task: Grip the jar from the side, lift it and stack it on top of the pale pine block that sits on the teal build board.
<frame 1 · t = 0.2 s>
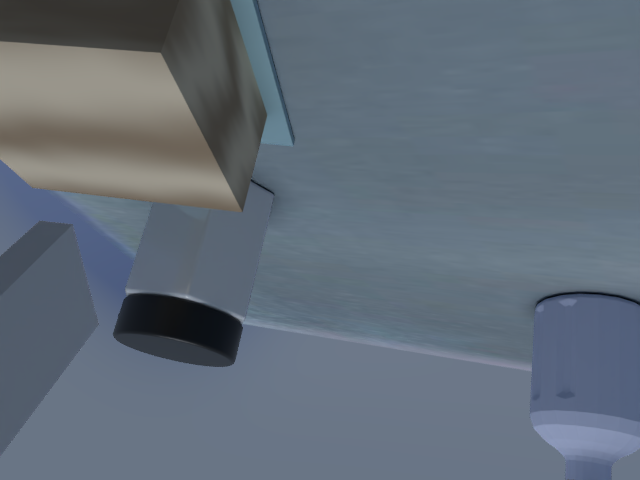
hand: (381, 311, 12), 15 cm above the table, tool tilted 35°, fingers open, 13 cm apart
build board: (142, 39, 30), on the table
soap bottle: (589, 307, 53), on the table
base block: (122, 30, 29), resting on build board
jar: (218, 189, 45), on the table
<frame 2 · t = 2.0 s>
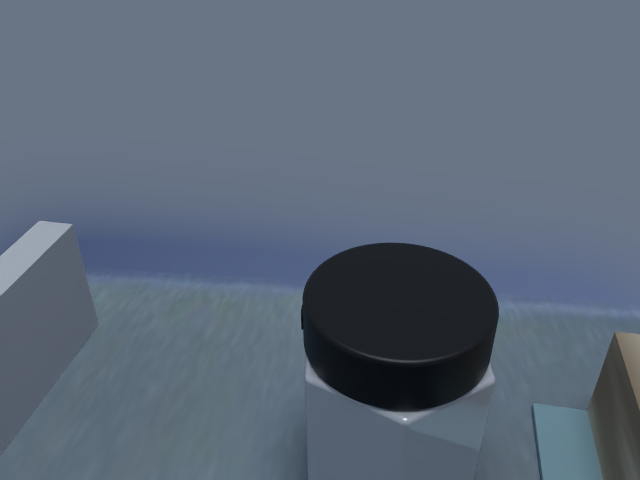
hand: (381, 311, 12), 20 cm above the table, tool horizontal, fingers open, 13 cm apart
jar: (384, 476, 32), on the table
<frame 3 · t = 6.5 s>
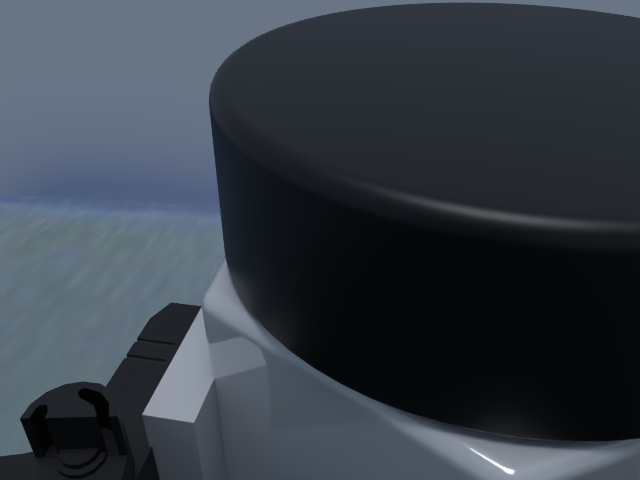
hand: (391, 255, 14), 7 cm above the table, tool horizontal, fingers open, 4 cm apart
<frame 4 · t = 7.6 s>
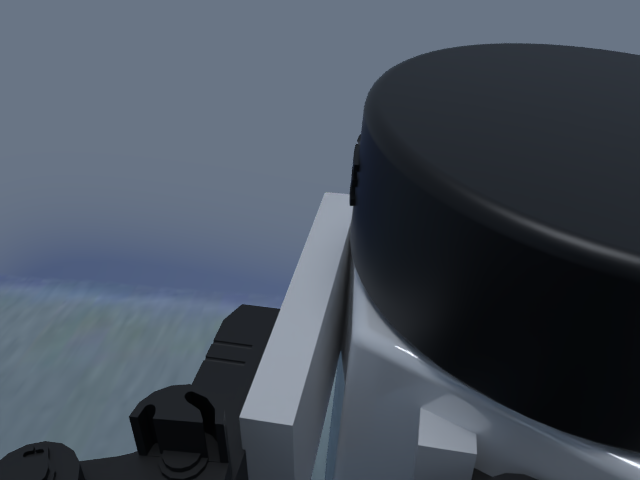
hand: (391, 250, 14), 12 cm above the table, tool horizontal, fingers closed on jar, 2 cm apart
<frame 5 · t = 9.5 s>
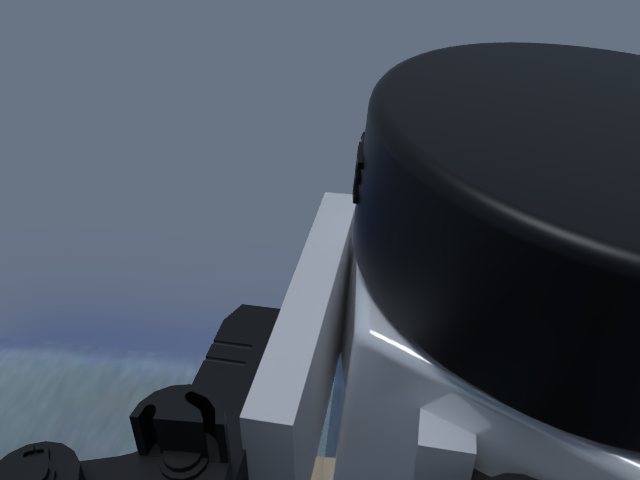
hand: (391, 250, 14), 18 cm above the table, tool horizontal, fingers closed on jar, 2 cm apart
when the fingers open (14 cm above the table, at t = 10.3 s): jar stays where it is, resting on base block.
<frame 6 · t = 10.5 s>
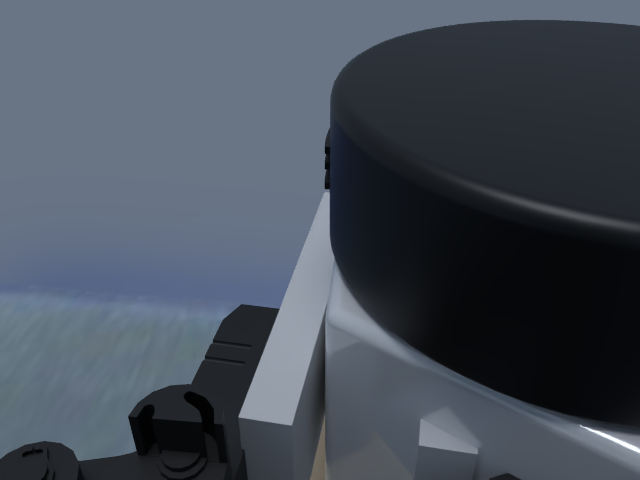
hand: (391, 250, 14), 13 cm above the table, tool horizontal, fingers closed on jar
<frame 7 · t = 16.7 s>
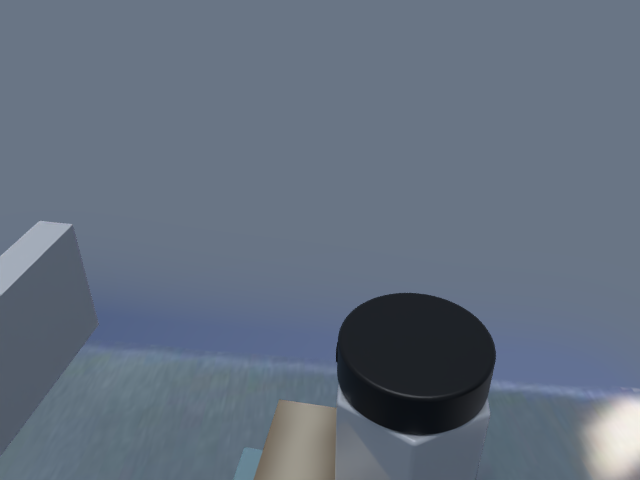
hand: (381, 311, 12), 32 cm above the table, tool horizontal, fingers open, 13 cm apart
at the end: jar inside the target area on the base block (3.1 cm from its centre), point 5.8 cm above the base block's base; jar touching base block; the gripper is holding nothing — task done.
